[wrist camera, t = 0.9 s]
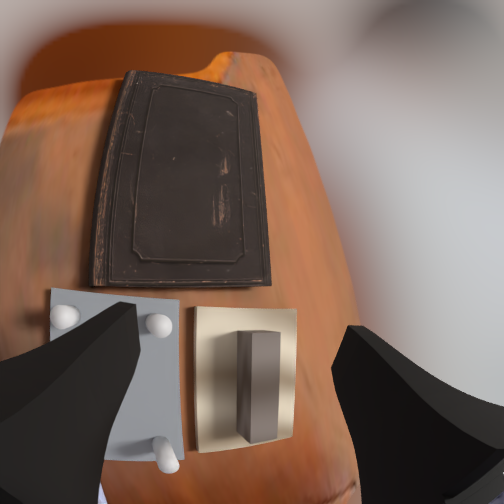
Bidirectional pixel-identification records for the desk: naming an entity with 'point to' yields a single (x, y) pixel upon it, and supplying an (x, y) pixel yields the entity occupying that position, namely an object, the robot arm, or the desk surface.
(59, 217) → the desk surface
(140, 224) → the hardcover book
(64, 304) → the peg stand
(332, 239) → the desk surface
